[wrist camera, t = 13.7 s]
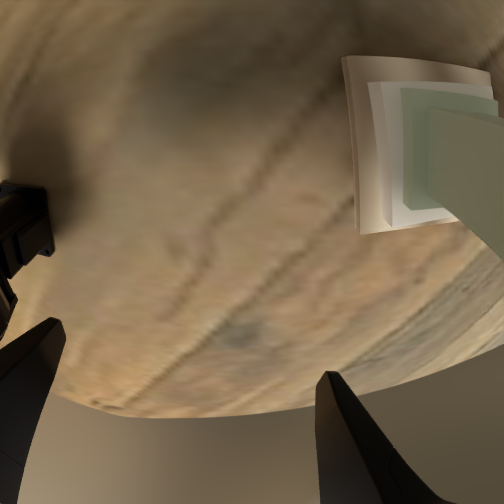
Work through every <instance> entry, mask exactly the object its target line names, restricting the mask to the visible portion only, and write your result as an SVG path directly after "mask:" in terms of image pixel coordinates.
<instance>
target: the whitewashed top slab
mask: <svg viewBox="0 0 504 504" xmlns="http://www.w3.org/2000/svg"><path fill="white" fill-rule="evenodd" d="M367 84H368V89H369V95H370V101H371V107H372V114H373V121H374V129H375V137H376V146H377V156H378V167H379V180H380V197H381V216H382V217H383V218H384V219H385V220H386V222H387V223H388V224H389V225H390V226H391V227H392V228H397V227H403V226H408V225H413V224H418V223H423V222H428V221H433V220H438V219H443V218H448V217H453V216H454V215H453V214H452V213H450V212H449V211H448V210H447V209H445V208H434V209H424V210H413V211H411V210H410V209H409V208H408V207H407V206H405V205H404V204H403V183H404V137H403V115H402V100H401V89H400V88H416V89H427V90H436V91H445V92H452V93H459V94H466V95H472V96H477V97H482V98H488V99H492V100H493V90H492V87H489V86H482V85H475V84H465V83H452V82H433V81H385V82H367Z"/></svg>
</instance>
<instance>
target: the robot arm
mask: <svg viewBox="0 0 504 504" xmlns="http://www.w3.org/2000/svg"><path fill="white" fill-rule="evenodd" d="M40 193H41V194H40ZM53 253H54V250H53V244H52V238H51V231H50V224H49V216H48V207H47V196H46V191H45V189H44V188H43V187H36V186H28V185H19V184H10V183H0V341H1V339H2V338H3V336H4V334H5V331H6V330H7V327H8V323H9V321H10V318H11V316H12V313H13V311H14V308H15V306H16V303H17V301H18V298H17V296H16V294H15V293H14V292H13V290H12V288H11V286H10V284H9V282H8V280H7V278H8V279H12V278H13V277H14V275H15V274H16V273H17V272H18V271H19V270H20V269H21V268H22V267H23V266H26V265H27V264H28V263H29V262H30V261H31V260H32V259H33V258H34V257H35V256H36V255H37V254H39V255H43V256H47V257H50V256H51V255H52V254H53ZM65 342H66V334H65V331H64V328H63V325H62V322H61V321H60V320H59V319H56V318H53V317H49V318H47V319H46V320H44V321H43V322H41V323H40V324H38V325H36V326H35V327H33V328H32V329H30V330H29V331H27V332H26V333H24V334H23V335H21V336H20V337H18V338H17V339H15V340H14V341H12V342H11V343H9V344H8V345H6V346H5V347H3V348H2V349H0V504H17V500H18V494H19V490H20V485H21V481H22V477H23V472H24V467H25V464H26V460H27V456H28V453H29V449H30V446H31V442H32V439H33V436H34V433H35V430H36V427H37V424H38V421H39V418H40V415H41V412H42V409H43V406H44V404H45V401H46V398H47V396H48V393H49V391H50V388H51V385H52V383H53V380H54V378H55V375H56V371H57V368H58V365H59V361H60V358H61V355H62V352H63V348H64V345H65ZM315 437H316V449H317V461H318V473H319V489H320V504H456V503H452V502H449V501H446V500H444V499H442V498H440V497H439V496H438V495H436V494H435V493H434V492H433V491H432V490H431V489H430V488H429V487H428V486H427V485H426V484H425V483H424V482H423V481H422V480H421V479H420V478H419V476H418V475H417V474H416V473H415V472H414V471H413V470H412V469H411V468H410V467H409V465H408V464H407V463H406V462H405V460H404V459H403V458H402V457H401V455H400V454H399V453H398V451H397V450H396V449H395V448H393V445H392V444H391V442H390V441H389V440H388V438H387V437H386V436H385V435H384V433H383V432H382V430H381V429H380V427H379V426H378V425H377V424H376V422H375V421H374V419H373V418H372V417H371V416H370V414H369V413H368V411H367V410H366V409H365V408H364V406H363V405H362V403H361V402H360V401H359V399H358V398H357V397H356V395H355V394H354V393H353V391H352V390H351V389H350V387H349V386H348V385H347V383H346V382H345V381H344V379H343V378H342V376H341V375H340V374H339V373H338V372H336V371H326V372H325V373H324V374H323V376H322V377H321V379H320V380H319V382H318V383H317V386H316V399H315Z"/></svg>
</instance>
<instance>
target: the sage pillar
mask: <svg viewBox="0 0 504 504" xmlns="http://www.w3.org/2000/svg"><path fill="white" fill-rule="evenodd" d="M400 89H401V100H402V115H403V137H404V183H403V204H404V205H405V206H407V207H408V208H409V209H410V210H411V211H413V210H424V209H434V208H445V209H447V210H448V211H449V212H450V213H452V214H453V215H454V216H455V217H456V218H457V219H459V220H460V221H461V222H462V223H463V224H464V225H466V226H467V227H468V228H469V229H470V230H471V231H472V232H474V233H475V234H476V235H477V236H478V237H479V238H480V239H481V240H482V241H483V242H484V243H486V244H487V245H488V246H489V247H490V248H491V249H492V250H493V251H494V252H495V253H496V254H497V255H498V256H499V257H500V258H501V259H502V260H503V261H504V118H500V117H499V114H498V101H497V100H492V99H488V98H482V97H477V96H472V95H466V94H459V93H452V92H445V91H436V90H427V89H416V88H400Z"/></svg>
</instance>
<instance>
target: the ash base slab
mask: <svg viewBox="0 0 504 504" xmlns="http://www.w3.org/2000/svg"><path fill="white" fill-rule="evenodd" d="M341 63H342V69H343V76H344V82H345V90H346V97H347V105H348V114H349V123H350V134H351V145H352V159H353V175H354V199H355V228H356V229H357V231H358V232H359V234H360V235H362V234H369V233H376V232H383V231H390V230H398V229H405V228H412V227H419V226H426V225H434V224H441V223H448V222H455V221H460V220H459V219H457V218H456V217H455V216H453V217H448V218H443V219H438V220H433V221H428V222H423V223H418V224H413V225H408V226H403V227H397V228H392V227H391V226H390V225H389V224H388V223H387V222H386V220H385V219H384V218H383V217H382V216H381V197H380V180H379V167H378V156H377V146H376V137H375V129H374V121H373V114H372V107H371V101H370V95H369V89H368V84H367V82H385V81H433V82H452V83H465V84H475V85H482V86H489V87H491V78H490V73H489V72H485V71H481V70H477V69H473V68H468V67H463V66H458V65H453V64H447V63H441V62H434V61H427V60H419V59H409V58H398V57H383V56H344V57H341Z"/></svg>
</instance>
